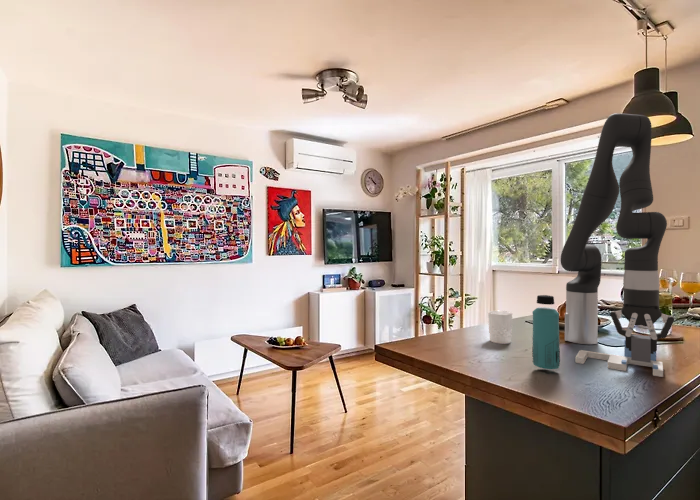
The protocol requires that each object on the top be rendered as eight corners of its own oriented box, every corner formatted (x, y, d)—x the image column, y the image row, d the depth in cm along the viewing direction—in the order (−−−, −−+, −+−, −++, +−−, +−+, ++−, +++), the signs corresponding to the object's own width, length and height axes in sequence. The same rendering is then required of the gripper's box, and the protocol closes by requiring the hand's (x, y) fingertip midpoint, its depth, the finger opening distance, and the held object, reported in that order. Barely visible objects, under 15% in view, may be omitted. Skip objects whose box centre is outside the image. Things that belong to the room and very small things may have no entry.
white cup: (514, 340, 130) (514, 311, 130) (510, 345, 124) (510, 315, 124) (490, 337, 135) (490, 309, 134) (485, 342, 128) (485, 313, 128)
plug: (631, 359, 99) (631, 337, 99) (631, 356, 102) (631, 334, 102) (650, 362, 97) (650, 339, 96) (650, 358, 100) (650, 336, 100)
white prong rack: (575, 362, 105) (575, 341, 105) (580, 354, 114) (580, 334, 113) (663, 377, 94) (663, 353, 93) (662, 366, 102) (662, 344, 102)
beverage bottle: (559, 377, 94) (559, 297, 94) (530, 372, 97) (530, 295, 97) (560, 369, 100) (560, 294, 99) (533, 365, 103) (533, 293, 103)
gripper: (607, 286, 101) (607, 350, 101) (677, 290, 92) (677, 360, 92) (609, 284, 107) (609, 344, 107) (675, 287, 98) (675, 353, 98)
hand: (641, 351), depth 99 cm, fingers closed on plug, 4 cm apart
